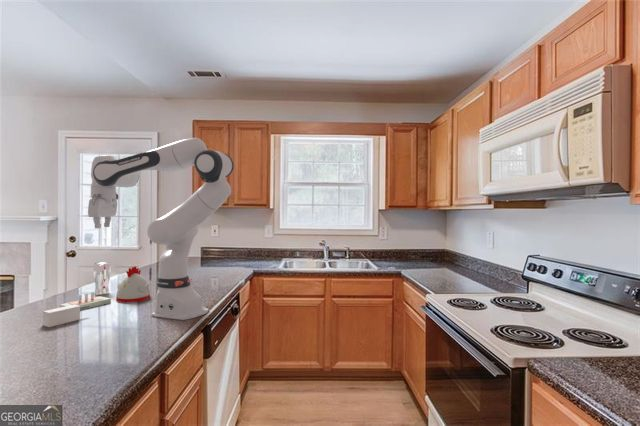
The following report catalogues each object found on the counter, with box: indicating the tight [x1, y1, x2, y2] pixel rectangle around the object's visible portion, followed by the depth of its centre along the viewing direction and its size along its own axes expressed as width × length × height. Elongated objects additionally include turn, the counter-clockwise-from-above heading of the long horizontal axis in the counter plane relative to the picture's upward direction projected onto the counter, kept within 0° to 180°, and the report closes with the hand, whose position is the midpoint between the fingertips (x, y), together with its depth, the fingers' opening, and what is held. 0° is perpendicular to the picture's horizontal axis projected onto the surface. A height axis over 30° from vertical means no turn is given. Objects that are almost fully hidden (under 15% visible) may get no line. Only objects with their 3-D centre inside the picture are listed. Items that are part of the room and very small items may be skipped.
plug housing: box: [42, 305, 90, 328], centre depth 125 cm, size 4×14×5 cm, turn 154°
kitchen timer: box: [115, 266, 151, 303], centre depth 158 cm, size 14×14×15 cm
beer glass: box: [93, 261, 112, 296], centre depth 165 cm, size 7×7×15 cm
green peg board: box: [59, 291, 112, 311], centre depth 144 cm, size 8×16×5 cm, turn 154°
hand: (102, 227), depth 140 cm, fingers open, 8 cm apart
